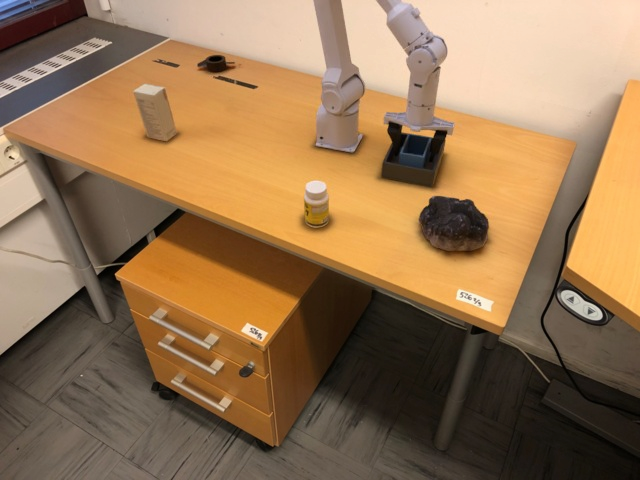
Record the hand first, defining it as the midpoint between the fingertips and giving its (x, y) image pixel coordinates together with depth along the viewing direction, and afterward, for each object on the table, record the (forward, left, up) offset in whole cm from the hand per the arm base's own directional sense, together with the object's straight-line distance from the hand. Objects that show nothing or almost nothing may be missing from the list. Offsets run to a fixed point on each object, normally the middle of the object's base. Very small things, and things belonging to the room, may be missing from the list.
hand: (414, 156), depth 113 cm
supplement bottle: (-14, -25, -3) cm, 28 cm away
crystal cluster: (+12, -20, -3) cm, 23 cm away
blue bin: (0, 0, -2) cm, 2 cm away
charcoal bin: (0, 0, -2) cm, 2 cm away
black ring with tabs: (-66, +31, -3) cm, 73 cm away
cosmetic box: (-61, -7, -3) cm, 61 cm away
